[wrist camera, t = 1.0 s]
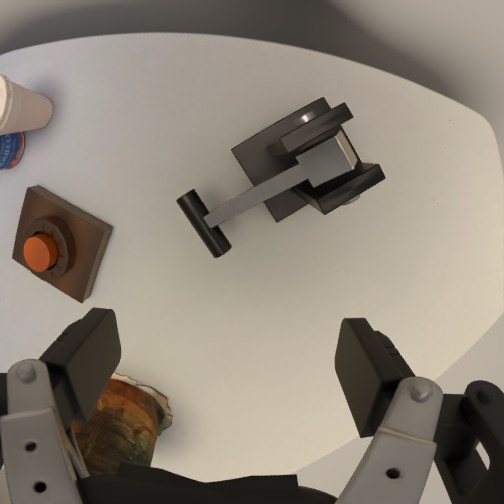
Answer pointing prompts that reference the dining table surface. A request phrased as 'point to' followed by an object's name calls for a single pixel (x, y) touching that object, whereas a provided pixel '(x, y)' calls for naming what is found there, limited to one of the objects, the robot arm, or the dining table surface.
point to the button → (40, 252)
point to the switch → (270, 188)
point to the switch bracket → (284, 156)
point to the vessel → (122, 426)
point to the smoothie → (21, 108)
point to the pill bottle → (11, 149)
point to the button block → (63, 241)
